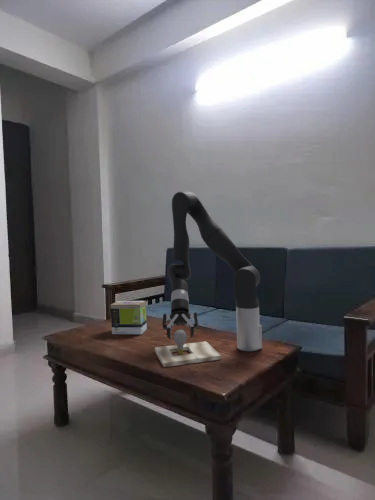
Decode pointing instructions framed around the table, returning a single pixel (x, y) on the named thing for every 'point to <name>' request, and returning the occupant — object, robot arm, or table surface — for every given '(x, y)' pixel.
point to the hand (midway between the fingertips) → (180, 337)
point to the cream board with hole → (197, 350)
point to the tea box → (128, 317)
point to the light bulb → (180, 340)
